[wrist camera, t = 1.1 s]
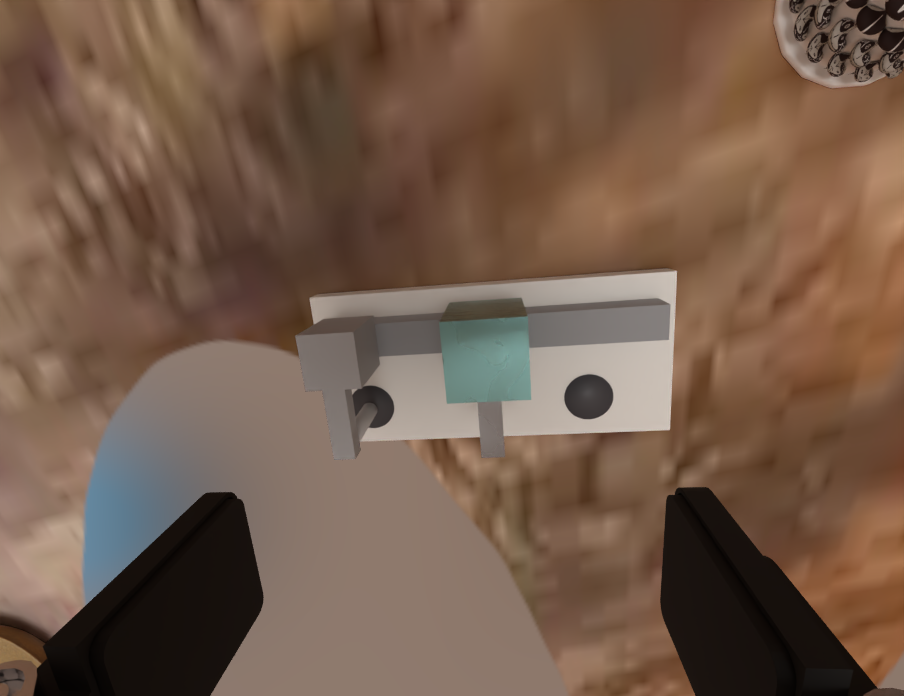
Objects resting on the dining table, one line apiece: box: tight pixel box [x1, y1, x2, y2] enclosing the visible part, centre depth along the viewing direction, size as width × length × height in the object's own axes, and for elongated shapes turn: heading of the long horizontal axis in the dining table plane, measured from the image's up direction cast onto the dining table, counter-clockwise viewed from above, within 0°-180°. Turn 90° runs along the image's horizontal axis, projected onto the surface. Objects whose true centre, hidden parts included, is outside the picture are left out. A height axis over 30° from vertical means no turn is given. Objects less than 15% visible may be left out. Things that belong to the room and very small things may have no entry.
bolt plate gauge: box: [295, 268, 677, 460], centre depth 27 cm, size 10×22×8 cm, turn 95°
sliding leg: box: [439, 298, 531, 458], centre depth 25 cm, size 8×4×7 cm, turn 5°
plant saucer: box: [0, 625, 47, 668], centre depth 42 cm, size 15×15×3 cm
